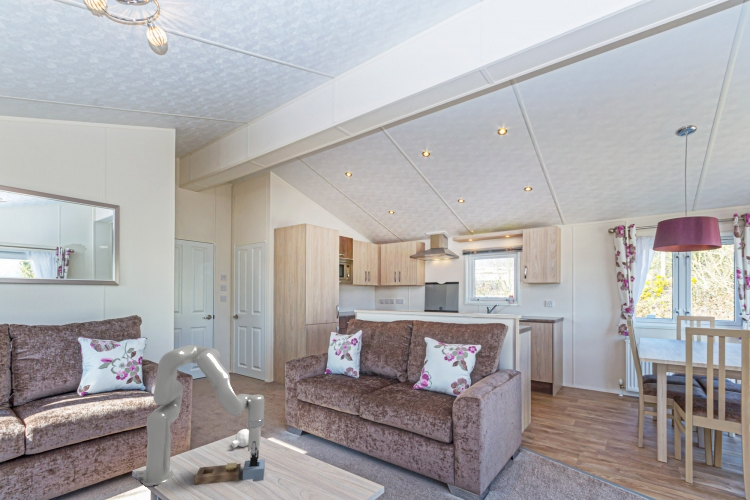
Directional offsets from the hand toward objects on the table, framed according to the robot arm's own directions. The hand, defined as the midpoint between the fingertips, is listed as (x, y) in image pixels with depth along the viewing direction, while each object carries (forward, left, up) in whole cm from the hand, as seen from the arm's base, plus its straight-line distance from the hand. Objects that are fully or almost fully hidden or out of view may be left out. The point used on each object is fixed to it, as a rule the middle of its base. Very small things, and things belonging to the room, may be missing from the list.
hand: (254, 462), depth 180 cm
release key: (-10, 0, -5) cm, 11 cm away
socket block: (-15, 0, -6) cm, 17 cm away
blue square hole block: (0, 0, -6) cm, 6 cm away
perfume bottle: (-9, +36, -6) cm, 38 cm away
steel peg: (0, 0, -5) cm, 5 cm away
